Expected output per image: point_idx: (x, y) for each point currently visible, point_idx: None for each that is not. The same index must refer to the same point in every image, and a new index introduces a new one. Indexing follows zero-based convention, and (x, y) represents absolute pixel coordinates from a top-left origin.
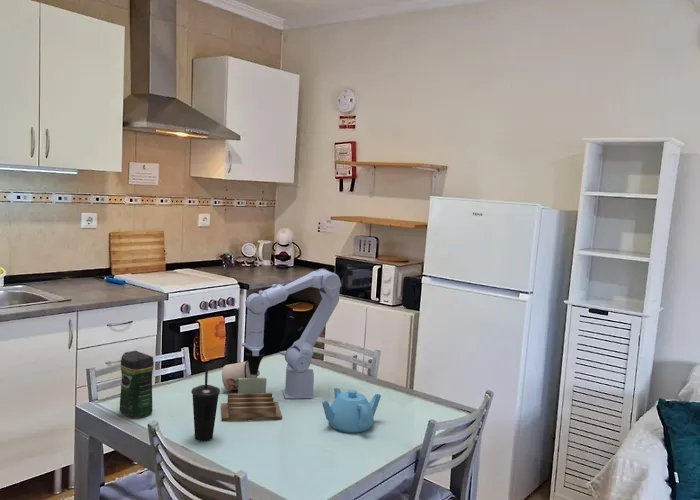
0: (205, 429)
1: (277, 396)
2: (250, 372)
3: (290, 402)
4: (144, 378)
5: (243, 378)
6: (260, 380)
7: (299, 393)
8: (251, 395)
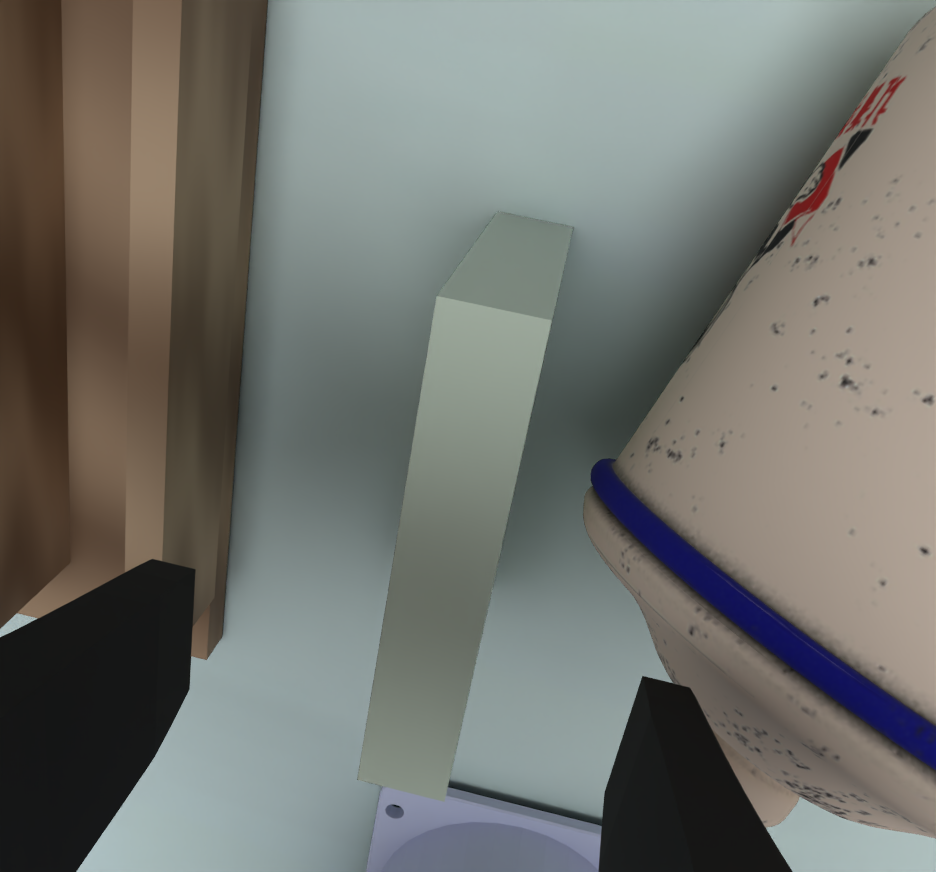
0: None
1: (501, 726)
2: (107, 584)
3: (284, 775)
4: None
5: (486, 414)
6: (379, 679)
7: None
8: (135, 380)
